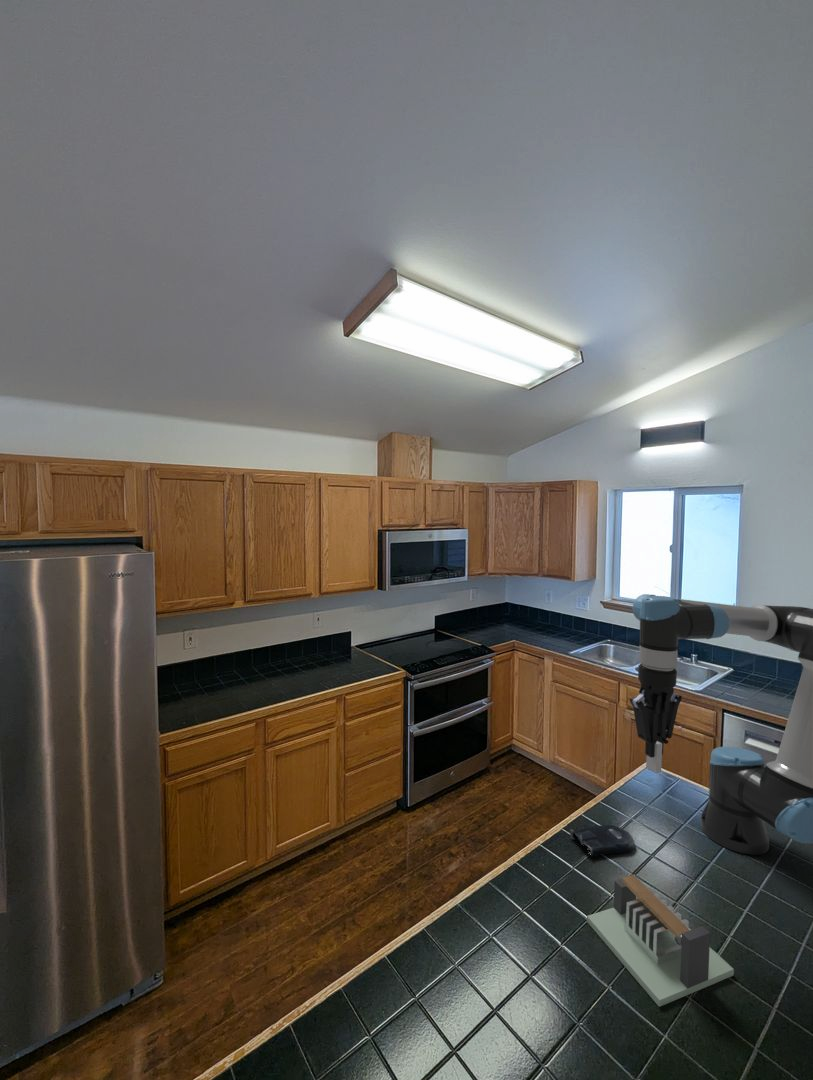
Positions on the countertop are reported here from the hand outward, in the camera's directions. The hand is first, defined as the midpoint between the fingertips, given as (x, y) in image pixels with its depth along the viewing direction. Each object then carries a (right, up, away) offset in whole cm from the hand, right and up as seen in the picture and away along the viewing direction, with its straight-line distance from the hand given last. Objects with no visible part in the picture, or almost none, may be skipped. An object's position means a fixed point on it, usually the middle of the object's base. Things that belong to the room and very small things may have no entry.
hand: (653, 769), depth 104 cm
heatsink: (-6, -28, -13) cm, 31 cm away
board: (-6, -29, -13) cm, 32 cm away
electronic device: (-4, -28, +17) cm, 33 cm away
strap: (-6, -21, -13) cm, 26 cm away
